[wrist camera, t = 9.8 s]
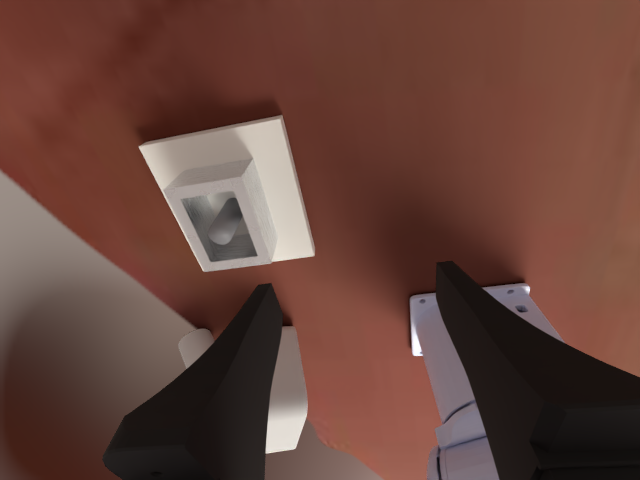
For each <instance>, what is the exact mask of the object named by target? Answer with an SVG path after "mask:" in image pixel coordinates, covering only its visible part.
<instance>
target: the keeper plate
mask: <svg viewBox="0 0 640 480" xmlns="http://www.w3.org/2000/svg"><path fill="white" fill-rule="evenodd" d="M139 148H140V150H141V152H142V154H143V156H144V158H145V160H146V162H147V164H148V166H149V168H150V170H151V172H152V174H153V175H154V177H155V179H156V181H157V183H158V185H159V187H160V189H161V191H162V193H163V195H164V197H165V199H166V201H167V202H168V204H169V206H170V208H171V210H172V212H173V214H174V216H175V218H176V220H177V222H178V224H179V226H180V227H181V229H182V231H183V233H184V235H185V237H186V239H187V241H188V243H189V245H190V247H191V249H192V251H193V253H194V254H195V252H194V250H193V248H192V246H191V244H190V242H189V240H188V238H187V236H186V234H185V232H184V230H183V228H182V226H181V224H180V222H179V220H178V218H177V216H176V214H175V212H174V210H173V208H172V206H171V204H170V202H169V200H168V198H167V197H166V195H165V193H164V191H163V189H164V188H166V187H167V186H168V185H169V184H170V183H171V182H172V181H173V180H174V179H175V178H176V177H178V176H179V175H180V174H181V173H182V172H183V171H184V170H187V169H193V168H199V167H204V166H210V165H216V164H222V163H227V162H233V161H239V160H244V159H250V158H254V161H255V164H256V168H257V171H258V174H259V177H260V180H261V184H262V187H263V190H264V193H265V196H266V200H267V203H268V206H269V209H270V212H271V216H272V219H273V222H274V225H275V229H276V232H277V235H278V241H277V245H276V249H275V252H274V256H273V260H272V262H274V261H282V260H289V259H296V258H304V257H311V256H314V255H315V246H314V242H313V238H312V234H311V230H310V226H309V222H308V218H307V214H306V209H305V205H304V201H303V197H302V193H301V189H300V185H299V181H298V177H297V173H296V169H295V164H294V160H293V156H292V152H291V148H290V144H289V140H288V136H287V132H286V128H285V124H284V120H283V115H279V116H274V117H269V118H264V119H259V120H254V121H249V122H244V123H239V124H234V125H229V126H224V127H219V128H214V129H209V130H204V131H199V132H194V133H189V134H184V135H179V136H174V137H169V138H164V139H159V140H154V141H149V142H146V143H144V144H142V145H140V146H139ZM207 198H208V200H209V202H210V205H211V207H212V209H213V212H214V214H215V216H216V218H215V220H214V221H213V223H212V225H211V226H210V228H209V229H208V236H209V238H210V239H211V240H212V241H213V242H215V243H217V244H221V245H224V244H227V243H229V242H230V241H231V239H232V237H233V236H235V235H242V234H249V231H248V228H247V225H246V222H245V220H244V217H243V214H242V212H241V209H240V206H239V204H238V201H237V198H236V195H235V193H234V190H233V191H227V192H221V193H215V194H208V195H207ZM195 256H196V254H195ZM196 258H197V260H198V262H199V264H200V266H201V268H202V270H203V271H204V269H203V267H202V265H201V263H200V261H199V259H198V257H197V256H196Z"/></svg>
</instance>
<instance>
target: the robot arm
mask: <svg viewBox="0 0 640 480" xmlns="http://www.w3.org/2000/svg"><path fill="white" fill-rule="evenodd" d="M509 290H510V291H509ZM529 292H530V287H529V286H528V285H527V284H526V283H519V284H510V285H501V286H492V287H483V288H482V287H481V286H479V285H478V284H477V283H476V282H475V281H474V280H473V279H471V278H470V277H469V276H468V275H467V274H466V273H465V272H464V271H463V270H462V269H460V268H459V267H458V266H457V265H456V264H455V263H454V262H453V261H446V262H438V263H437V266H436V293H429V294H420V295H414V296H412V297H411V298H410V323H411V348H412V354H413V355H414V356H423V358H424V361H425V365H426V368H427V372H428V376H429V379H430V383H431V386H432V390H433V393H434V397H435V400H436V404H437V407H438V411H439V414H440V418H441V421H442V425H441V426H439V427H437V428H435V432H436V436H437V440H438V444H439V445H437V446H434V447H433V448H432V449H431V451H430V454H429V459H428V465H427V480H640V377H637V376H635V375H633V374H630V373H628V372H625V371H623V370H621V369H618V368H616V367H614V366H611V365H609V364H606V363H604V362H602V361H600V360H598V359H596V358H594V357H592V356H589V355H587V354H585V353H583V352H581V351H579V350H577V349H575V348H573V347H571V346H569V345H567V344H565V342H564V341H563V340H562V338H561V337H560V336H559V334H558V333H557V332H556V330H555V329H554V328H553V326H552V325H551V324H550V323H549V321H548V320H547V319H546V317H545V316H544V315H543V313H542V312H541V311H540V309H539V308H538V307H537V305H536V304H535V303H534V301H533V300H532V299H531V297H530V296H529ZM422 299H424V300H422ZM282 322H283V313H282V311H281V308H280V305H279V303H278V300H277V297H276V294H275V292H274V289H273V286H272V284H271V283H269V284H261V285H258V286H257V287H256V289H255V290H254V291H253V293H252V294H251V296H250V297H249V298H248V300H247V301H246V303H245V304H244V305H243V307H242V308H241V309H240V311H239V312H238V313H237V315H236V316H235V317H234V319H233V320H232V321H231V323H230V324H229V325H228V326H227V327H226V329H225V330H224V331H223V332H222V334H221V335H220V336H219V337H218V338H217V339H216V341H215V342H214V343H213V344H212V345H211V346H210V347H209V348H208V349H207V350H206V351H205V352H204V353H203V354H202V355H201V356H200V357H199V358H198V359H197V360H196V361H195V362H194V363H193V364H192V365H190V366H189V367H188V368H187V369H186V370H185V371H184V372H183V373H182V374H181V375H180V376H178V377H177V378H176V379H175V380H174V381H172V382H171V383H170V384H169V385H167V386H166V387H165V388H163V389H162V390H161V391H160V392H159V393H157V394H156V395H154V396H153V397H152V398H150V399H149V400H147V401H146V402H145V403H143V404H142V405H140V406H139V407H137V408H136V409H135V410H133V411H132V412H131V413H129V414H128V415H126V416H125V417H124V418H123V420H122V422H121V424H120V425H119V427H118V429H117V431H116V433H115V435H114V436H113V438H112V440H111V442H110V444H109V446H108V447H107V449H106V451H105V453H104V455H103V462H104V464H105V466H106V467H107V468H108V469H109V470H110V471H111V472H113V473H114V474H115V475H117V476H118V477H120V478H121V479H122V480H264V475H265V474H264V473H265V455H266V438H267V426H268V413H269V403H270V394H271V387H272V381H273V376H274V371H275V366H276V361H277V356H278V351H279V346H280V341H281V336H282Z"/></svg>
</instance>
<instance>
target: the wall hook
mask: <svg viewBox="0 0 640 480" xmlns="http://www.w3.org/2000/svg"><path fill="white" fill-rule="evenodd" d="M214 342H215V340H214V338H213V336H212V334H211V332H210V331H209V330H207V329H197V330H194V331H192V332H190V333H188V334H187V335H185V336H184V337H183V338H182V339H181V340H180V342H179V345H178V347H179V350H180V353H181V355H182V358H183V361H184V363H185V366H186V368H188V367H189V366H190V365H192V364H193V363H194V362H195V361H196V360H197V359H198V358H199V357H200V356H201V355H202V354H203V353H204V352H205V351H206V350H207V349H208V348H209V347H210V346H211V345H212V344H213V343H214ZM306 416H307V391H306V385H305V379H304V373H303V367H302V362H301V356H300V350H299V344H298V338H297V333H296V329H295V327H294V326H284V327H282V336H281V341H280V346H279V351H278V356H277V361H276V366H275V371H274V376H273V381H272V387H271V394H270V403H269V413H268V426H267V438H266V453H272V452H279V451H285V450H292V449H295V448H296V445H297V443H298V440H299V437H300V434H301V431H302V428H303V425H304V422H305V419H306Z"/></svg>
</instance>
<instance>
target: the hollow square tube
mask: <svg viewBox="0 0 640 480" xmlns="http://www.w3.org/2000/svg"><path fill="white" fill-rule="evenodd" d="M233 190H234V193H235V195H236V198H237V201H238V204H239V206H240V209H241V212H242V214H243V217H244V220H245V222H246V225H247V228H248V231H249V234H242V235H235V236H233V237H232V239H231V241H230V242H229V243H227V244H224V245H221V244H217V243H215V242H213V241H212V240H211V239H210V238H209V236H208V229H209V228H210V226H211V225H212V223H213V221H214V220H215V218H216V216H215V214H214V212H213V209H212V207H211V205H210V202H209V200H208V198H207V195H208V194H215V193H221V192H227V191H233ZM163 191H164V193H165V195H166V197H167V198H168V200H169V202H170V204H171V206H172V208H173V210H174V212H175V214H176V216H177V218H178V220H179V222H180V224H181V226H182V228H183V230H184V232H185V234H186V236H187V238H188V240H189V242H190V244H191V246H192V248H193V250H194V252H195V254H196V256H197V257H198V259H199V261H200V263H201V265H202V267H203V269H204V271H205V272H208V271H216V270H224V269H232V268H240V267H247V266H255V265H263V264H271V263H272V260H273V256H274V252H275V249H276V245H277V241H278V235H277V232H276V229H275V225H274V222H273V219H272V216H271V212H270V209H269V206H268V203H267V200H266V196H265V193H264V190H263V187H262V184H261V180H260V177H259V174H258V171H257V168H256V164H255V161H254V158H250V159H244V160H239V161H233V162H227V163H222V164H216V165H210V166H204V167H199V168H193V169H187V170H184V171H183V172H182V173H181V174H180V175H179V176H178V177H176V178H175V179H174V180H173V181H172V182H171V183H170V184H169V185H168V186H167V187H166V188H164V189H163Z"/></svg>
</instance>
